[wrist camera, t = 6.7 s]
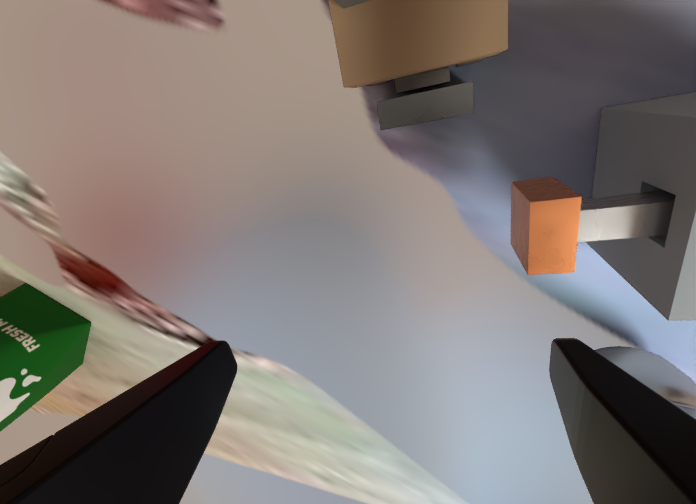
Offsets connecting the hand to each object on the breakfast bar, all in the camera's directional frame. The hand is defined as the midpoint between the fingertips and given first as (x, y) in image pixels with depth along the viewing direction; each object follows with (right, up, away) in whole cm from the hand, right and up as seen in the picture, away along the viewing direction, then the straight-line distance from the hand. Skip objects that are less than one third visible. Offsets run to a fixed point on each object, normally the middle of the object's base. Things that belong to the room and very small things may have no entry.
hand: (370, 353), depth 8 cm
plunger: (+10, +4, +6) cm, 13 cm away
